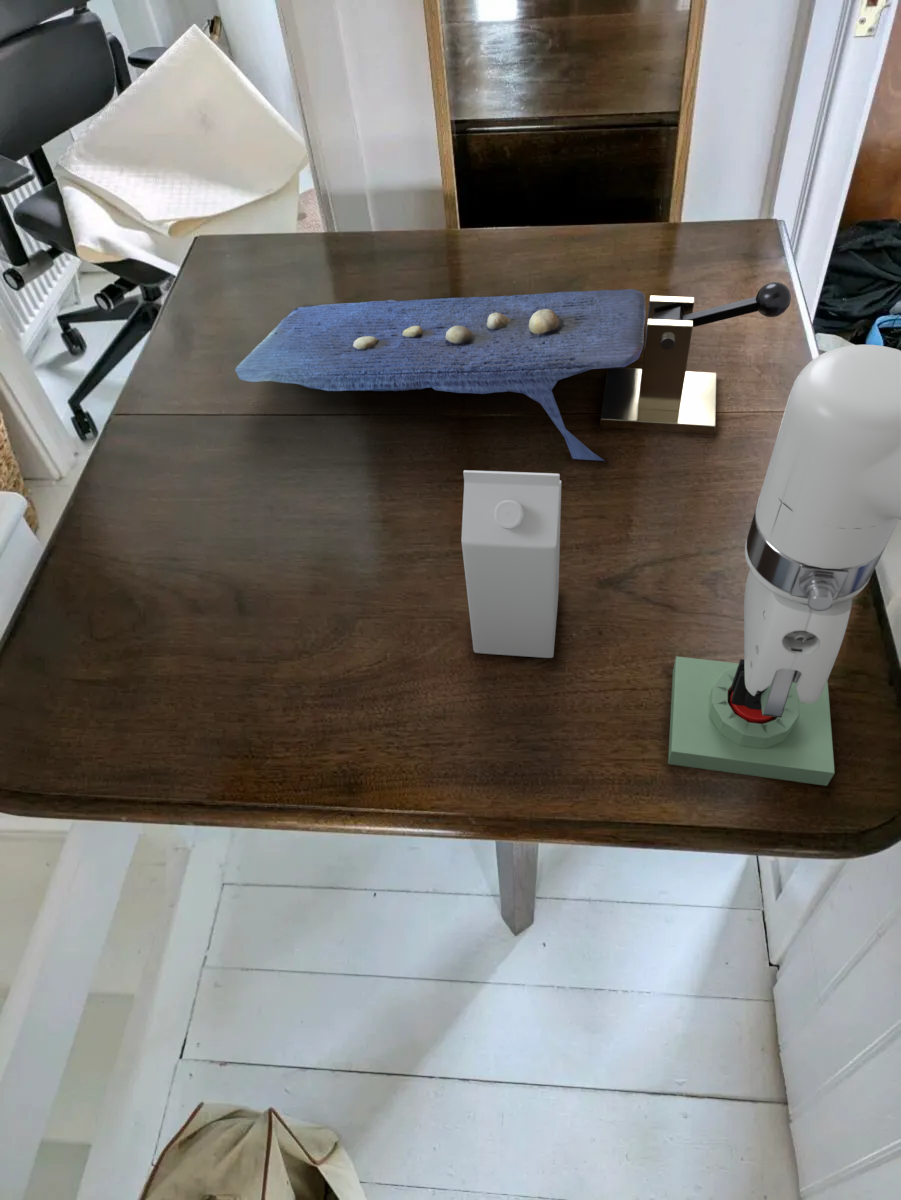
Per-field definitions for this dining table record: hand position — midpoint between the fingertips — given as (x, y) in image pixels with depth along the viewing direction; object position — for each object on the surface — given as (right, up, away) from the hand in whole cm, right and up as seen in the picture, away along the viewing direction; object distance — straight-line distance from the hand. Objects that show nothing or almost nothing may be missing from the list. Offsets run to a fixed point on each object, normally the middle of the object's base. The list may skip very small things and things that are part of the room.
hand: (752, 697), depth 66 cm
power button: (0, -1, +1) cm, 2 cm away
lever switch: (+4, +35, +19) cm, 40 cm away
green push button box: (+1, -3, +3) cm, 4 cm away
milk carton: (-17, +5, +12) cm, 22 cm away
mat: (-24, +34, +35) cm, 54 cm away
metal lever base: (0, +29, +28) cm, 41 cm away
